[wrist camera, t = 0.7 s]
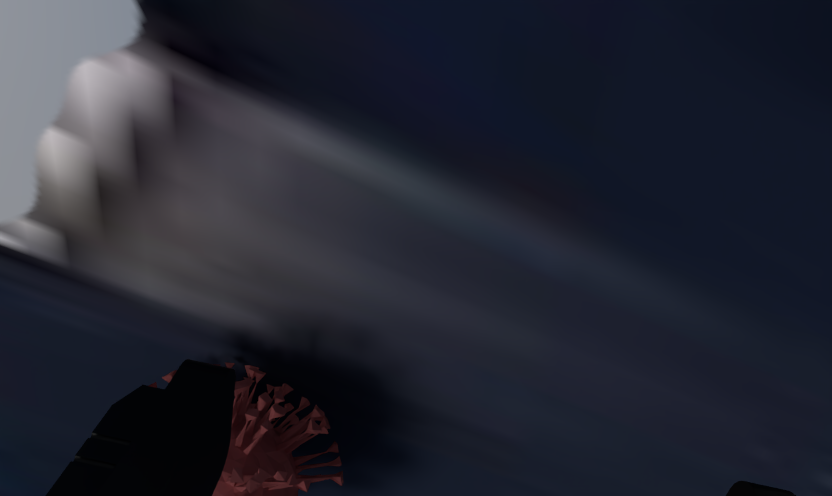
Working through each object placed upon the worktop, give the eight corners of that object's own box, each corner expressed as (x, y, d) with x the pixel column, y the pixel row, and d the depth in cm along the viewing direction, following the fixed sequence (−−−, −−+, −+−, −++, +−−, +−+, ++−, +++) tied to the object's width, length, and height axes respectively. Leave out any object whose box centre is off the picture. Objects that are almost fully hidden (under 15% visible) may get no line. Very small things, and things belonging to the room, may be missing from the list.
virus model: (308, 509, 51) (247, 721, 37) (127, 427, 48) (-7, 621, 35) (399, 379, 44) (365, 579, 31) (194, 277, 42) (62, 446, 29)
